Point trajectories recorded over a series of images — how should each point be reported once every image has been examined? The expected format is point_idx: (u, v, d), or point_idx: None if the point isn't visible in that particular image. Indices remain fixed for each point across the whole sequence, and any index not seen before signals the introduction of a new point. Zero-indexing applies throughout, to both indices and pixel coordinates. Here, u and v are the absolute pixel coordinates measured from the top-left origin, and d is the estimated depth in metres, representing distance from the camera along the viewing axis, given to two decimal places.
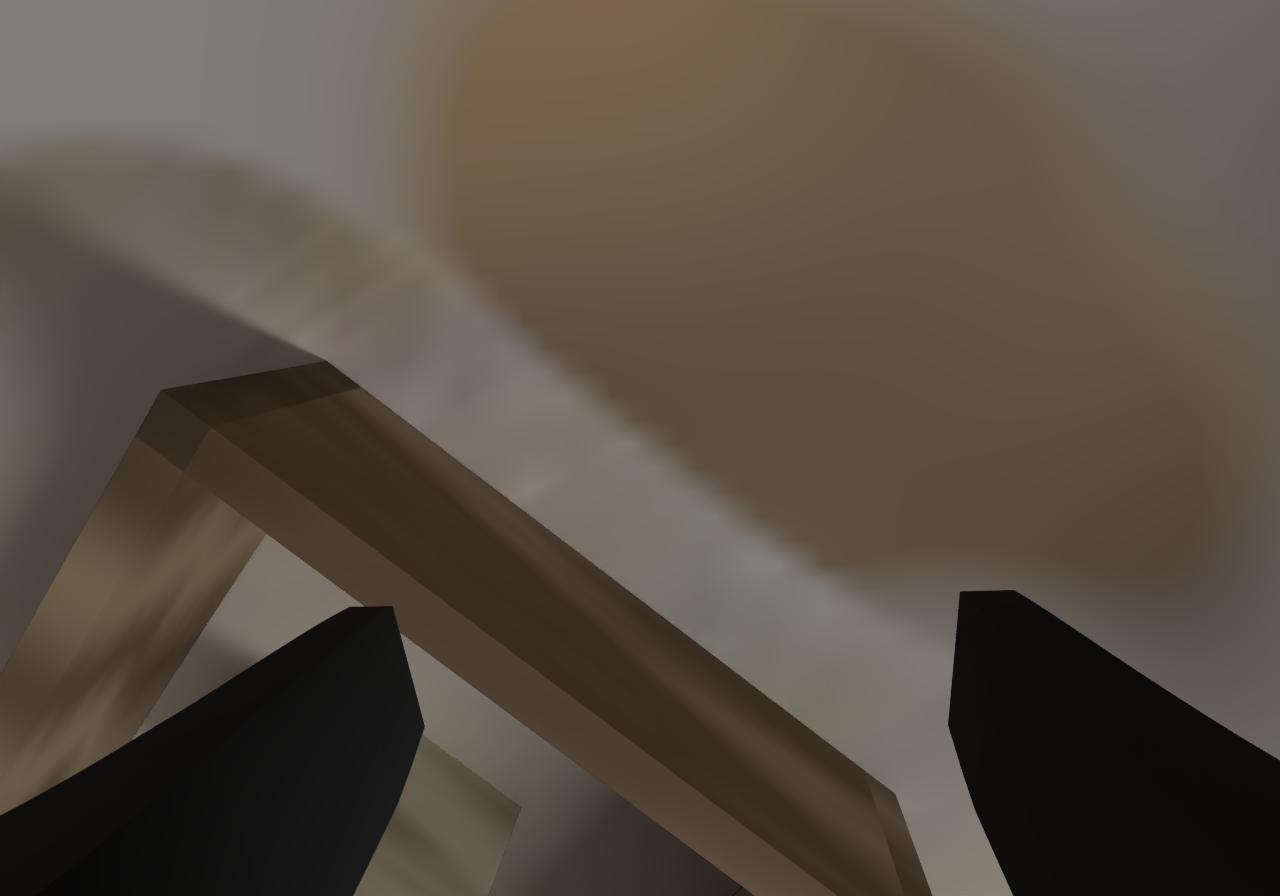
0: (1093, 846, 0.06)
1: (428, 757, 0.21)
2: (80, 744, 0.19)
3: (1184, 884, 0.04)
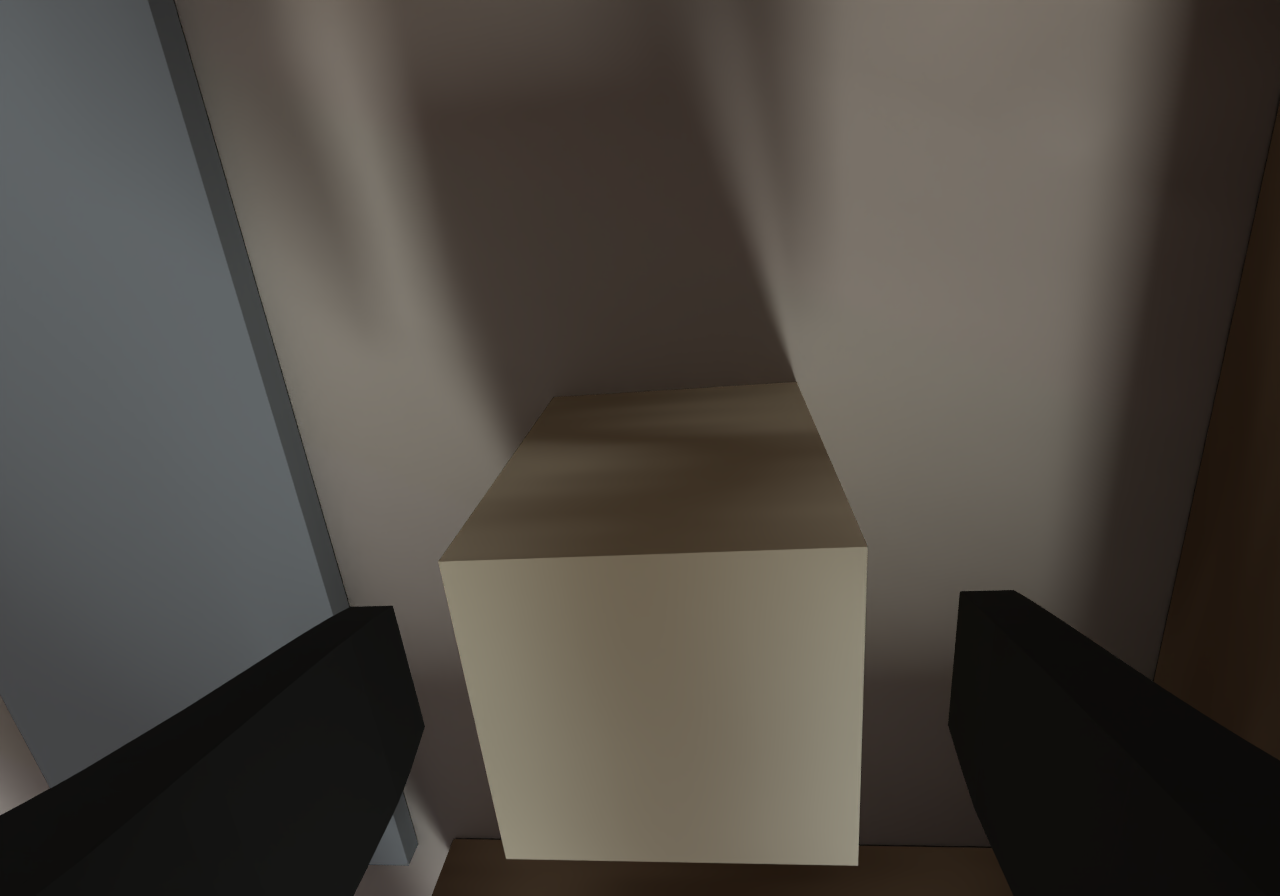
0: (1094, 845, 0.06)
1: None
2: None
3: (1185, 884, 0.04)
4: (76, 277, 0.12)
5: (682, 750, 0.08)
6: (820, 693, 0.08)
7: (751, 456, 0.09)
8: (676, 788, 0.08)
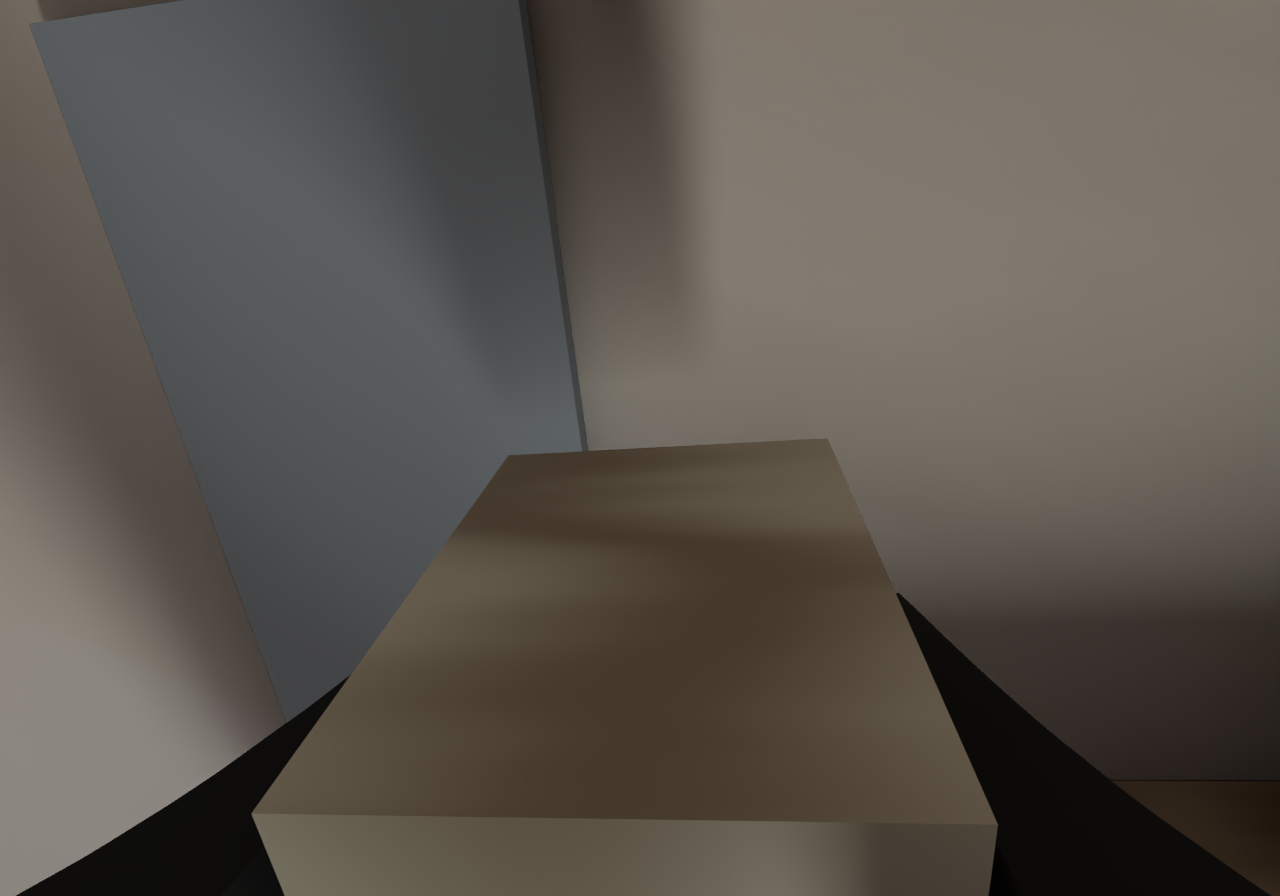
0: None
1: None
2: None
3: None
4: (400, 237, 0.13)
5: None
6: None
7: (775, 580, 0.06)
8: None
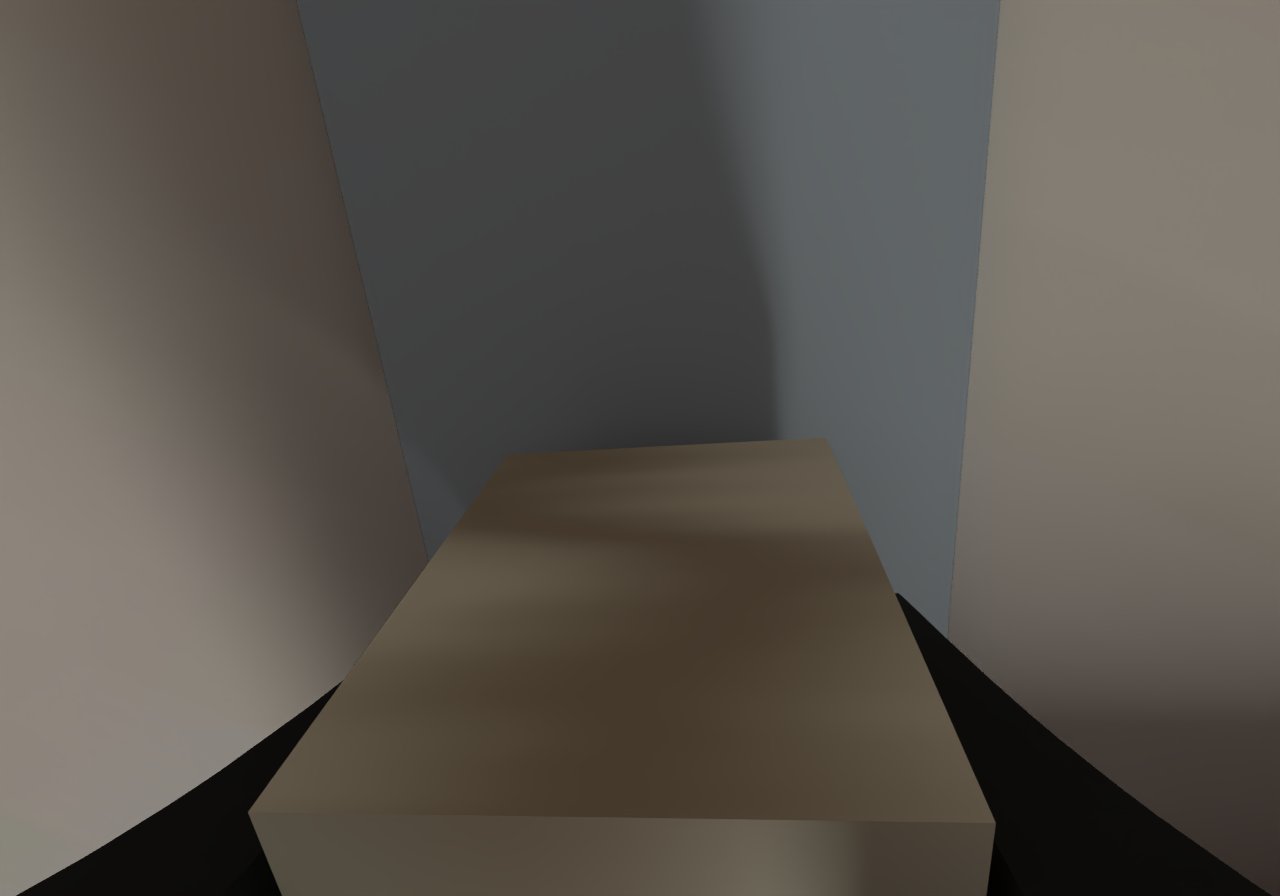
0: None
1: None
2: None
3: None
4: (762, 214, 0.10)
5: None
6: None
7: (773, 577, 0.06)
8: None
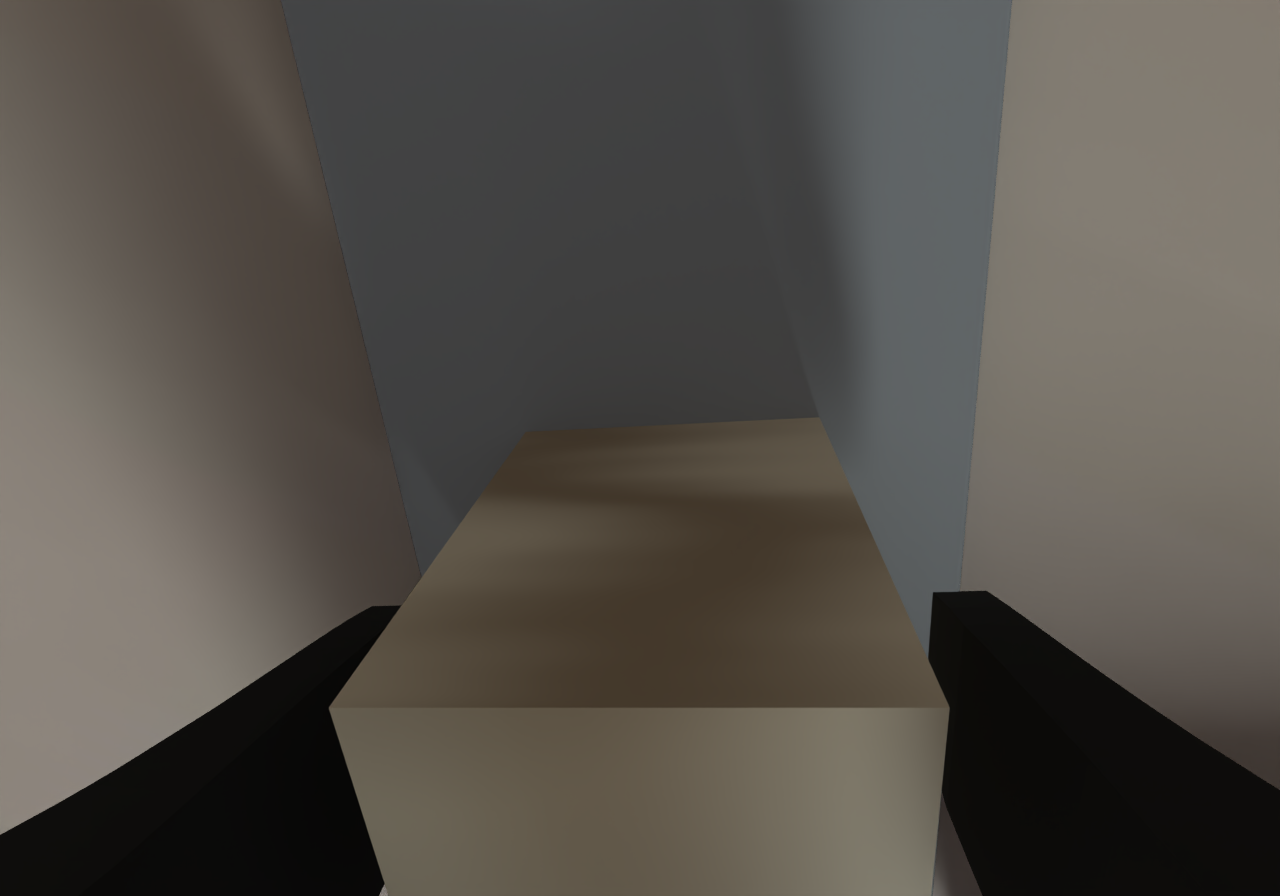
0: (1053, 844, 0.06)
1: None
2: None
3: (1134, 883, 0.05)
4: (764, 214, 0.09)
5: None
6: (869, 891, 0.05)
7: (770, 531, 0.07)
8: None
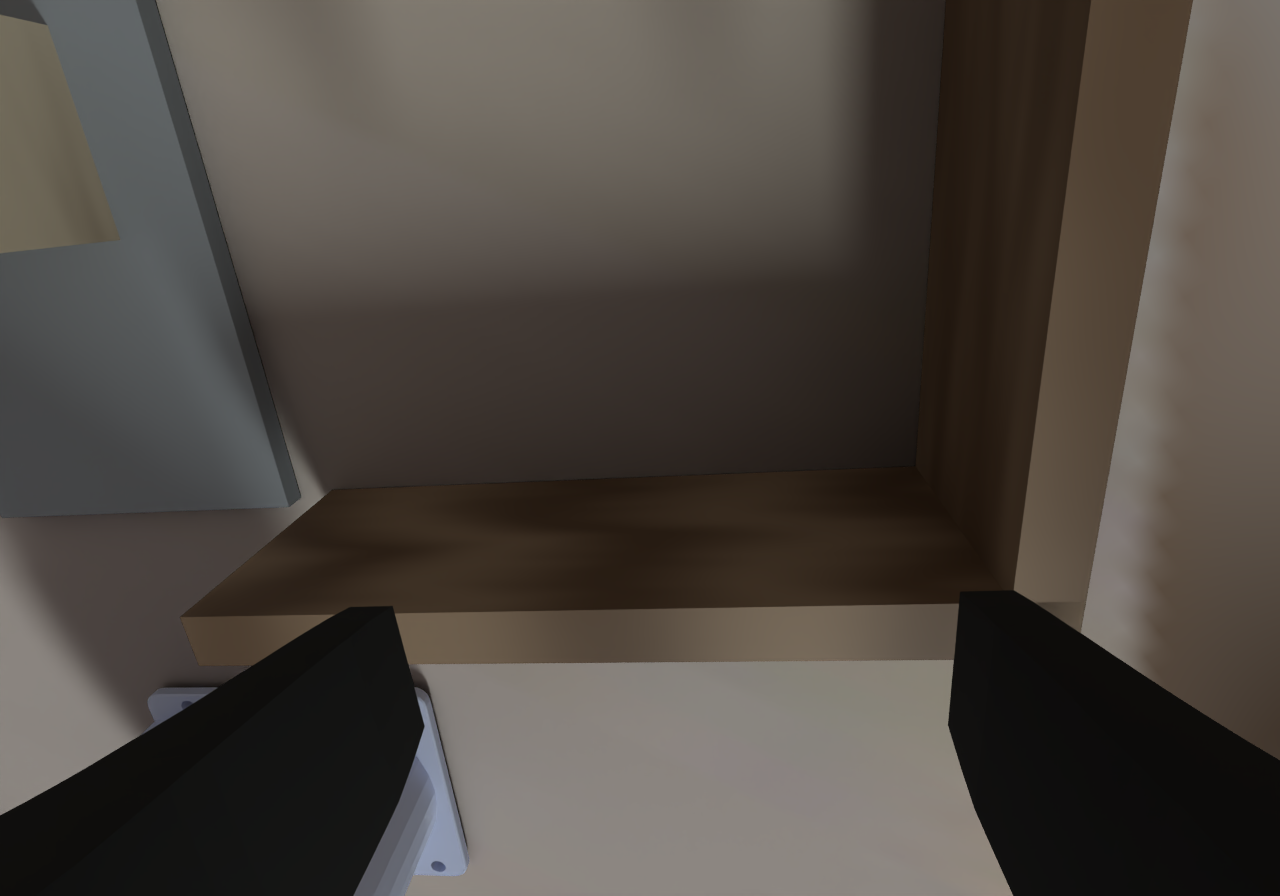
0: (1093, 845, 0.06)
1: (40, 77, 0.15)
2: None
3: (1184, 884, 0.04)
4: None
5: None
6: None
7: None
8: None
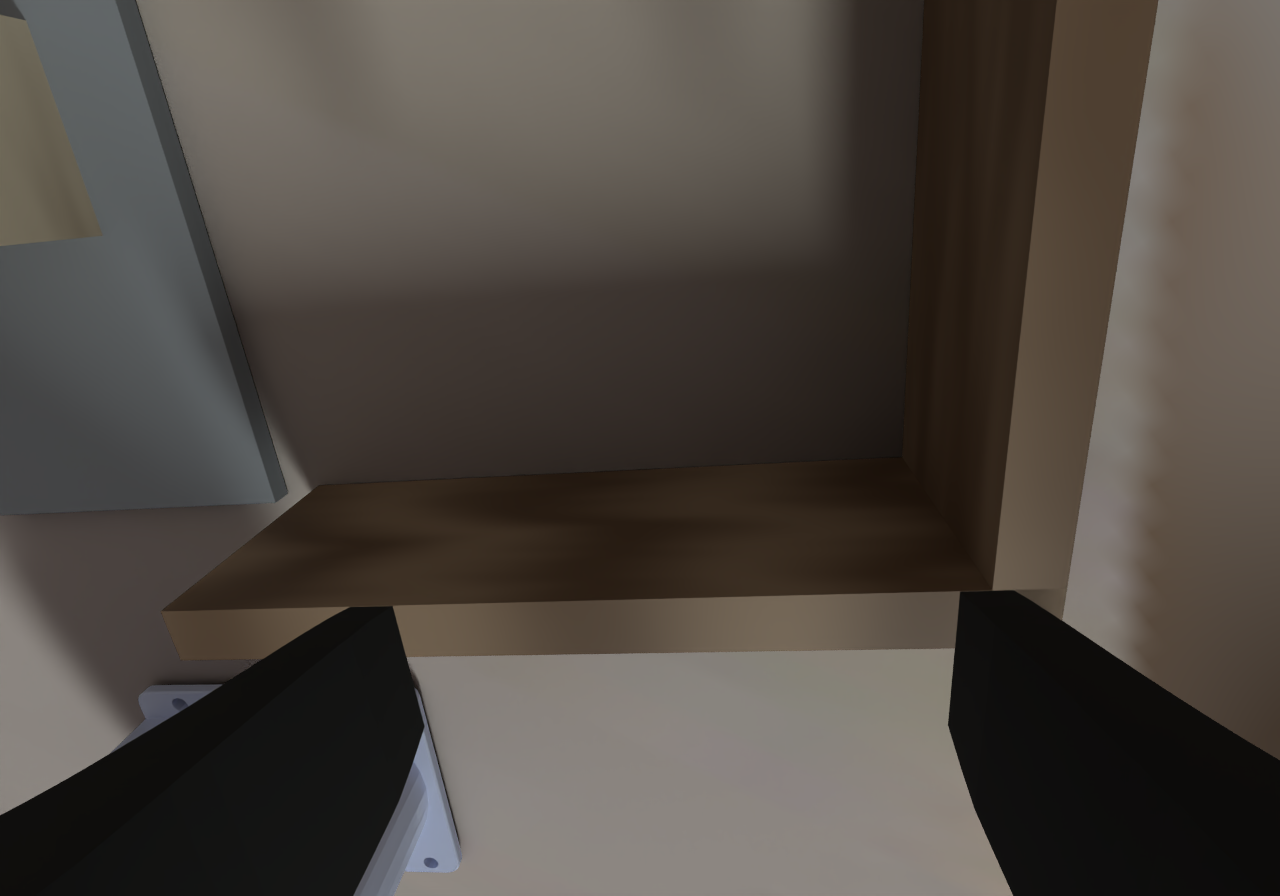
0: (1094, 845, 0.06)
1: (18, 72, 0.15)
2: None
3: (1184, 884, 0.04)
4: None
5: None
6: None
7: None
8: None
